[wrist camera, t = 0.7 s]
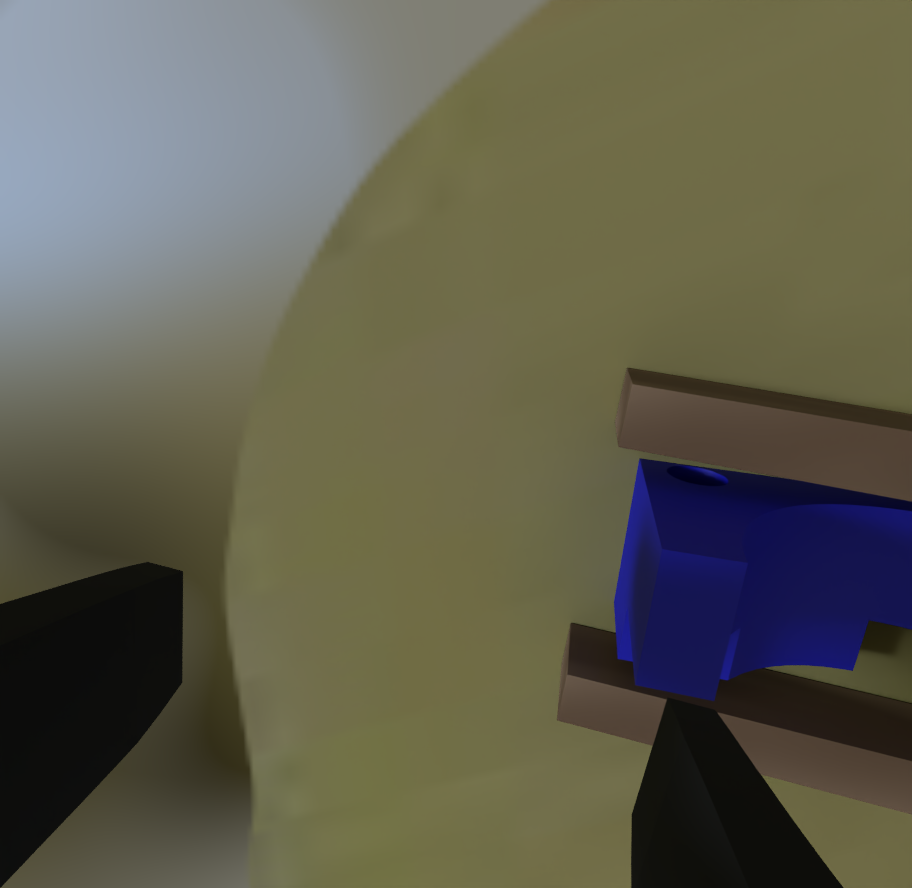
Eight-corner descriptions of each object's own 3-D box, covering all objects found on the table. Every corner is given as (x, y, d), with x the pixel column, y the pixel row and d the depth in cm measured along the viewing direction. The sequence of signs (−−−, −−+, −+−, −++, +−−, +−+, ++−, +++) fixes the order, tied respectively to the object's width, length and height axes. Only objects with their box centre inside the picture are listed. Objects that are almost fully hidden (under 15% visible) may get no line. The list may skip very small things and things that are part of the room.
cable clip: (613, 598, 18) (623, 745, 12) (638, 456, 17) (662, 549, 11) (1078, 682, 16) (1344, 906, 10) (1148, 526, 15) (1496, 685, 9)
